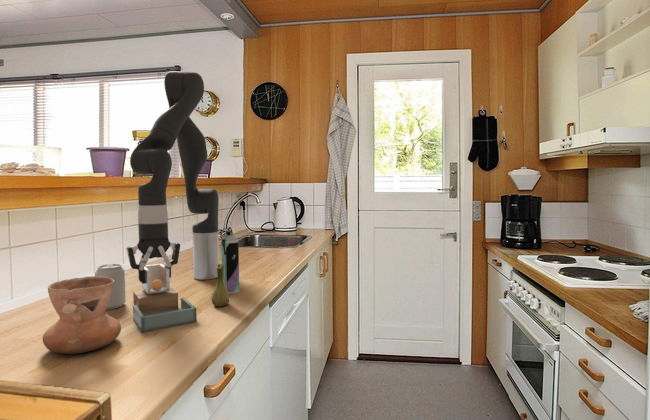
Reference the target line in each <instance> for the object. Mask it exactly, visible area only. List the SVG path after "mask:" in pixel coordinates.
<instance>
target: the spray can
mask: <svg viewBox="0 0 650 420" xmlns="http://www.w3.org/2000/svg"><path fill="white" fill-rule="evenodd" d="M224 235H225V236H223V237H221V241H220V247H221V249H220V251H221V253H220V255H221V257H220V258H221V260H220V261H221V264H223V267H224V271H223V279H224V283H225V285H226V288H227V290H228V293H229V295H235V294H238V293H240V257H239V256H240V254H239V252H240V251H239V248H240V247H239V238H238V237H237V236H235V234H234V233H233V230H228V231H226V233H225V234H224Z"/></svg>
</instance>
